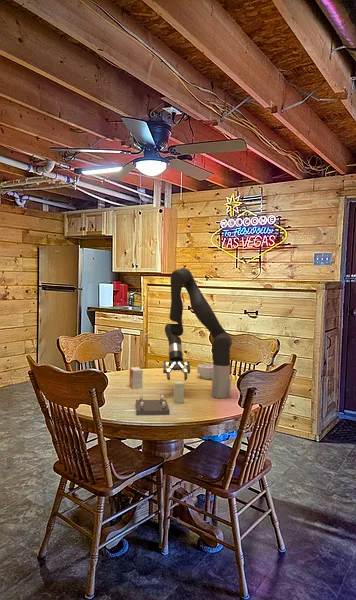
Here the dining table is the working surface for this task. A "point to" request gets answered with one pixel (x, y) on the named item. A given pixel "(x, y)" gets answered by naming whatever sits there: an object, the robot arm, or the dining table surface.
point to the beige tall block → (178, 392)
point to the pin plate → (152, 406)
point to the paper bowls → (205, 371)
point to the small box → (135, 377)
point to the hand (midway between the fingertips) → (177, 379)
